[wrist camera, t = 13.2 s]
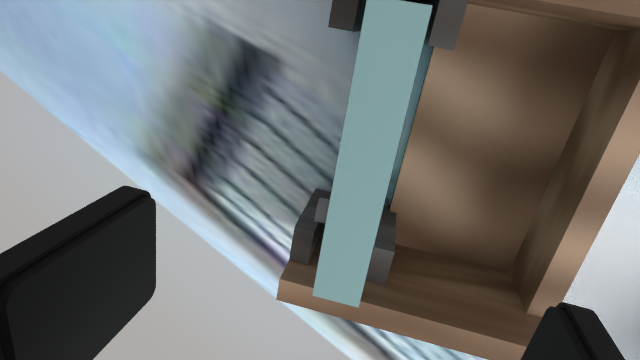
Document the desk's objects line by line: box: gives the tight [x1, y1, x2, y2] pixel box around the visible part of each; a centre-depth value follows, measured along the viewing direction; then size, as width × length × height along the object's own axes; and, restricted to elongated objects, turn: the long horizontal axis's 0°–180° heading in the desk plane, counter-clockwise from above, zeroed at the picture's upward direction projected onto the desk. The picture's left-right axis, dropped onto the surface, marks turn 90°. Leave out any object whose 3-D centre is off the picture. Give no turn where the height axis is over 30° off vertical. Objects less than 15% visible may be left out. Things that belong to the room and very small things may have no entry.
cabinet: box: [276, 0, 640, 360], centre depth 22 cm, size 19×16×8 cm
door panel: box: [312, 0, 433, 308], centre depth 22 cm, size 14×3×10 cm, turn 171°
